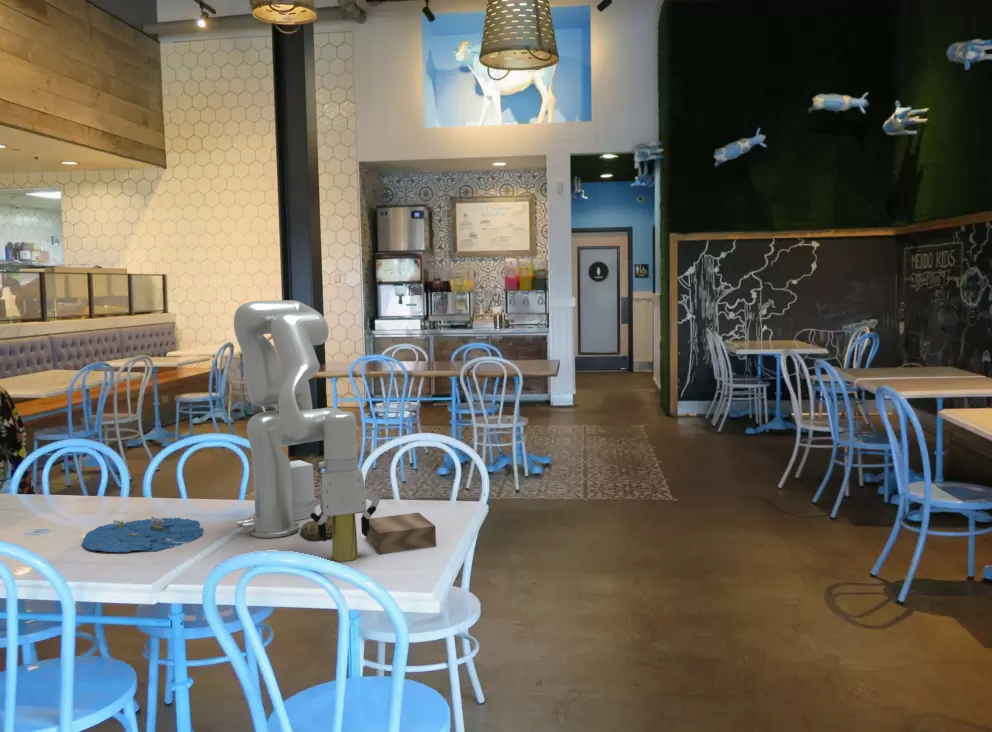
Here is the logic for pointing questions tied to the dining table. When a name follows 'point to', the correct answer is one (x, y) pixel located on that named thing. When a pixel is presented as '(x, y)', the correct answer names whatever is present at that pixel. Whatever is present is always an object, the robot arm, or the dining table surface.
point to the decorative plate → (142, 535)
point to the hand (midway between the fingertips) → (344, 537)
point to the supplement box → (301, 488)
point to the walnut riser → (401, 533)
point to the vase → (344, 538)
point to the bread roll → (316, 530)
